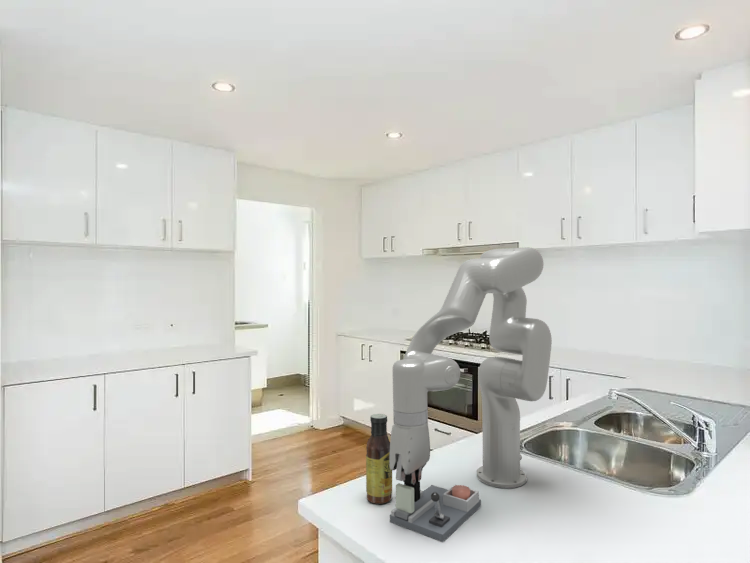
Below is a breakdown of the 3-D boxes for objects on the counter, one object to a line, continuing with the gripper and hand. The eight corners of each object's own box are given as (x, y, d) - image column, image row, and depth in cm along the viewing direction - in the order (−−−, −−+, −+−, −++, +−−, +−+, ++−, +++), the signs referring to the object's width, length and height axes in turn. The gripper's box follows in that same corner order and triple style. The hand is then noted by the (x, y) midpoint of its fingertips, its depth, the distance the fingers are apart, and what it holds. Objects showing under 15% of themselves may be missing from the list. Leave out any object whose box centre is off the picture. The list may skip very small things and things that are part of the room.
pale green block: (401, 509, 104) (401, 481, 104) (416, 515, 101) (416, 486, 101) (393, 515, 101) (393, 486, 101) (409, 520, 99) (408, 491, 99)
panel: (431, 490, 116) (431, 475, 116) (480, 506, 108) (480, 489, 108) (389, 521, 102) (389, 504, 102) (442, 542, 94) (442, 523, 94)
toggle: (437, 513, 101) (432, 489, 99) (445, 516, 99) (440, 491, 97) (433, 519, 99) (428, 495, 97) (442, 522, 98) (436, 497, 96)
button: (457, 496, 110) (457, 483, 110) (473, 501, 107) (473, 488, 107) (449, 503, 107) (449, 489, 107) (465, 508, 104) (465, 494, 104)
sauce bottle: (390, 506, 109) (389, 421, 108) (363, 504, 110) (362, 419, 110) (394, 493, 115) (393, 412, 115) (369, 491, 116) (368, 411, 116)
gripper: (414, 405, 111) (416, 481, 112) (376, 422, 100) (378, 508, 100) (442, 410, 107) (444, 490, 107) (405, 429, 95) (407, 519, 96)
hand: (412, 498), depth 104 cm, fingers closed
